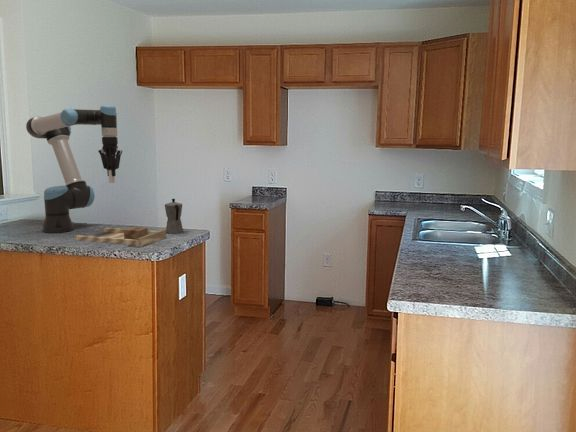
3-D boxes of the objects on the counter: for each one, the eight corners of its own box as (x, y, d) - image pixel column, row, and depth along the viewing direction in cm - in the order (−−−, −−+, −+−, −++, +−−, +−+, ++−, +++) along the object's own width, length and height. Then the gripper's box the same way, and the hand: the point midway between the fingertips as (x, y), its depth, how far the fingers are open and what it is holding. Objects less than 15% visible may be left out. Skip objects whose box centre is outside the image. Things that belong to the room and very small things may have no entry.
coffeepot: (162, 230, 285) (161, 197, 282) (180, 229, 289) (179, 196, 286) (169, 236, 271) (168, 201, 268) (187, 234, 275) (186, 200, 272)
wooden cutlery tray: (75, 242, 256) (74, 233, 256) (105, 233, 278) (104, 225, 278) (140, 247, 246) (140, 238, 245) (166, 237, 268) (166, 229, 267)
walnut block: (124, 240, 257) (123, 229, 256) (133, 236, 264) (133, 226, 264) (138, 241, 254) (138, 230, 254) (147, 237, 262) (147, 227, 261)
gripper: (94, 136, 270) (96, 182, 273) (116, 136, 266) (118, 183, 270) (103, 136, 277) (105, 181, 281) (125, 136, 273) (127, 182, 277)
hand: (111, 182), depth 275 cm, fingers closed
